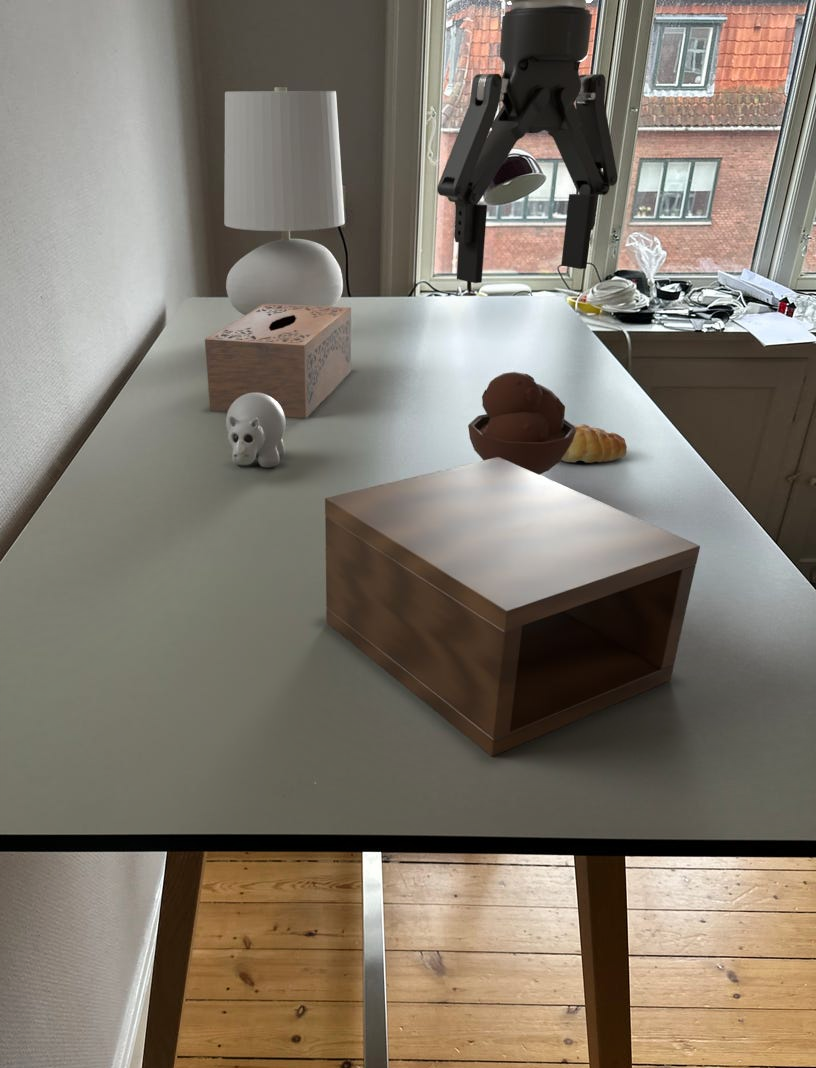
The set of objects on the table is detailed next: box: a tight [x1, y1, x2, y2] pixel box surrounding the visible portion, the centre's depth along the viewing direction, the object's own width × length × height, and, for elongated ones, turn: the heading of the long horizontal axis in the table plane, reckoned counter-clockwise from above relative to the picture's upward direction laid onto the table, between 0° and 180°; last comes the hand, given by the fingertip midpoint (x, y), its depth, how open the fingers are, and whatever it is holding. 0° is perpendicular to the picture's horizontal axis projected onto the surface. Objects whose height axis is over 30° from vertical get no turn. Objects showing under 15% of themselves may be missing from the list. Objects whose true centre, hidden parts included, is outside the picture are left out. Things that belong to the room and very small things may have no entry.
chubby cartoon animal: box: [225, 393, 287, 469], centre depth 109 cm, size 7×12×8 cm, turn 169°
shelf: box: [324, 457, 701, 757], centre depth 72 cm, size 22×18×12 cm
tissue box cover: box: [204, 304, 352, 419], centre depth 138 cm, size 26×14×10 cm, turn 165°
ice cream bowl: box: [467, 371, 577, 475], centre depth 96 cm, size 11×11×15 cm
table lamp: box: [223, 86, 346, 316], centre depth 164 cm, size 23×22×40 cm
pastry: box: [560, 424, 628, 463], centre depth 114 cm, size 9×7×4 cm
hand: (523, 274), depth 89 cm, fingers open, 13 cm apart
